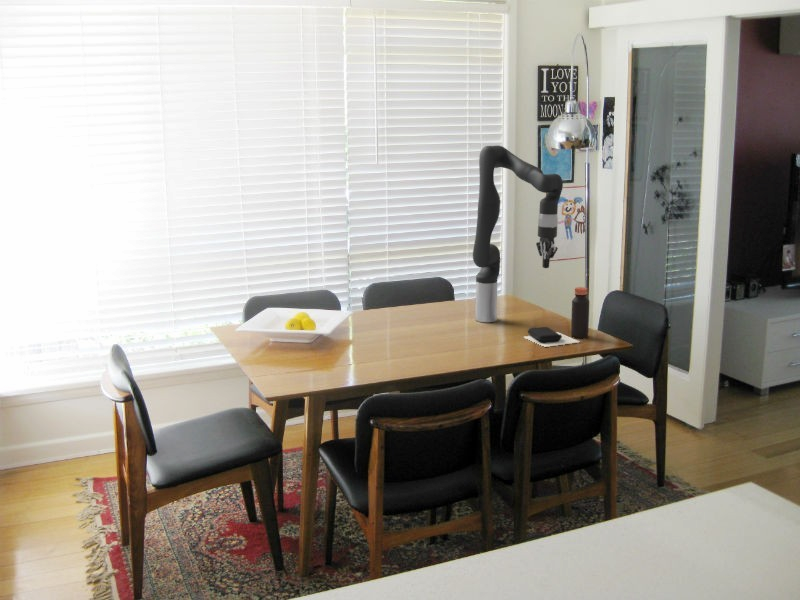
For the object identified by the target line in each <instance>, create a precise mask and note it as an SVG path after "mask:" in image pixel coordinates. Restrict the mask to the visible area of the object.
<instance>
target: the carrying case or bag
mask: <svg viewBox="0 0 800 600" xmlns="http://www.w3.org/2000/svg"><path fill="white" fill-rule="evenodd" d="M556 332H557V331H555V330H553V329H552V328H550V327H548V326H542V327H530V328H528V330H527V333H528V334H529V335H528V336H532V337H533V338H534V339H536V340H537V341H539V342H541V343H544V342H557V341H559V340H560V339H561V338H562V336H561V334H562V333H561V334H560V335H559V334H557V333H556Z"/></svg>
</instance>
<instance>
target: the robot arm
mask: <svg viewBox="0 0 800 600" xmlns="http://www.w3.org/2000/svg"><path fill="white" fill-rule="evenodd" d="M478 157H479V158H478V165H479V166H478V167H479V169H478V170H479V172H478V173H479V186H478V187H479V189H478V203H477V219H476V231H475V238H474V244H473V248H472V249H473V250H472V259H473V261H472V262H473V263H474V264H475V266H477V267H479V268H480V271H479V272H478V273H477V274H475V275H476V276H475V298H474V299H475V309H474V310H475V311H474V312H475V313H474V315H475V316H474V317H475V321H476V322H479V323H494V322H497V320H498V278H499V275H500V270H501V269H500V268H501V252H500V249H499V248H498V247H497V245H496V244H493V243H491V239H492V234H493V232H494V229H495V227H496V225H497V222H498V220H499V218H500V217H499V216H500V210H501V198H500V195H499V192H498V189H497V187H496V185H495V179H494V175H495V173H494V172H495V169H499V168H501V169H502V168H504V169H508V170H510V171H512V172H513V174H515V176H516V177H517V178H518V179H520V180H522V181H524V182H525V183H528V184H530V185H531V186H532V187H533V188H535V189H536V190H537V191H538V192H541V193H544V194H545V193H546V194H545V195H546V196H544V198H542V199H541V200H540V201H539V212H538V213H539V215H538V221H537V224H538V225H537V236H538V237H539V241H538V242H536V248H537V251H538V254H539V256H540V257H541V258H542V264H541V265H542V268H543V269H549V267H550V259H553V258H554V256H555V254H556V253H557V251H558V247H557V246H555V238H557V236H558V222H559V221H558V219H559V218H558V217H559V216H558V211H559V210H558V206H559V205H558V204H559V200H560V199H561V195H562V192H563V187H564V182H563V179H562V177H561V175H560V174H557V173H548V174H545V173H544V171H543V170H542V169H541V168H540V167H538V166H535V165H533V164H531V163H529V162H526V161H525V160H523V159H521V158H520V157H518V156H517V155H515V154H514V153H512V152H511V151H510V150H508V149H507V148H506V147H504V146H503V145H485V146H483V147H482V148H481V149H480V151H479V156H478Z"/></svg>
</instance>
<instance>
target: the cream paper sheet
mask: <svg viewBox="0 0 800 600" xmlns="http://www.w3.org/2000/svg"><path fill="white" fill-rule="evenodd" d="M555 332H556V333H557V334H559V335H560V334H561V336H562V338H561V339H560V340H559V341H557V342H544V343H541V342H539V341H537V340H536V339H534V338H533V337H532V336H531V335H524V336H523V338H524V339H525V340H527V339H528V340H527V341H529V340H530V341H529V342H531V341H532V343H534V342H535V343H534V344H536V343H537V344H536V345H538V344H539V345H538V346H540V345H541V346H540V347H542V346H544V347H549V348H551V347H550V346H556V347H559V346H558V345H563V346H566V345H565V344H570V345H573V344H572V343H577V344H580V343H581V341H580V340H578V339H576V338H573V337H570V336H568V335H565V334H564V333H561V332H558V331H555ZM579 342H580V343H579ZM544 347H543V348H544Z"/></svg>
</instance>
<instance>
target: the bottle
mask: <svg viewBox="0 0 800 600" xmlns="http://www.w3.org/2000/svg"><path fill="white" fill-rule="evenodd" d="M574 296H575V297H574V298H573V299H572V301H571V320H570V322H571V323H570V336H571V338H573V337H574V338H573V339H577V338H580V339H579V340H581V339H582V340H584V339H583V338H585V339H587V338H588V337H589V322H590V300H589V298H588V297H587V296H588V287H583V286H578V287H575V288H574Z"/></svg>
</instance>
